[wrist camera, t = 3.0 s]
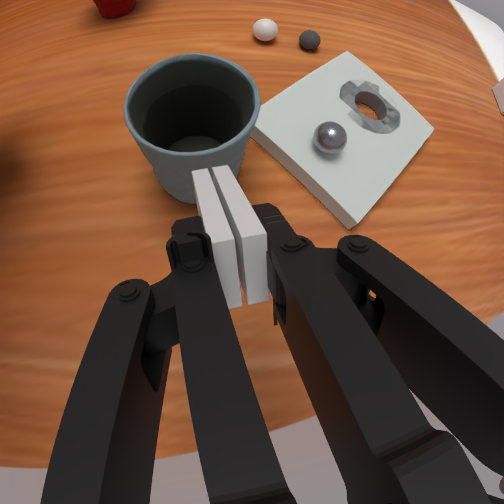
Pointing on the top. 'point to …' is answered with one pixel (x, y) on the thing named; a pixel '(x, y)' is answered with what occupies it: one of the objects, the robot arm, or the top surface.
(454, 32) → the top surface
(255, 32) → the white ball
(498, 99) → the medicine bottle
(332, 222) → the top surface
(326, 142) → the steel ball
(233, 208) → the robot arm
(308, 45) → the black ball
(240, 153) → the grey cup
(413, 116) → the board
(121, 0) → the plastic cup
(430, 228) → the top surface
